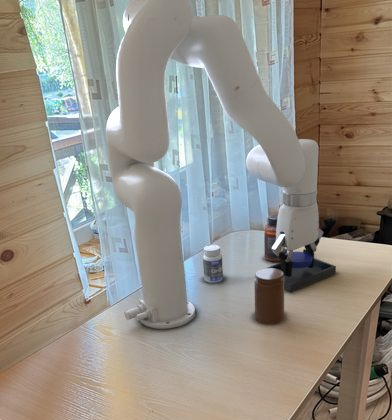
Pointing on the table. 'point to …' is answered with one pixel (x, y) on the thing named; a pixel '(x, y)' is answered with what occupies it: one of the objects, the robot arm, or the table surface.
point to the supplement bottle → (271, 238)
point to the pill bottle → (212, 264)
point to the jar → (269, 295)
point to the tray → (306, 275)
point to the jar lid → (301, 259)
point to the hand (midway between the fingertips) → (297, 270)
